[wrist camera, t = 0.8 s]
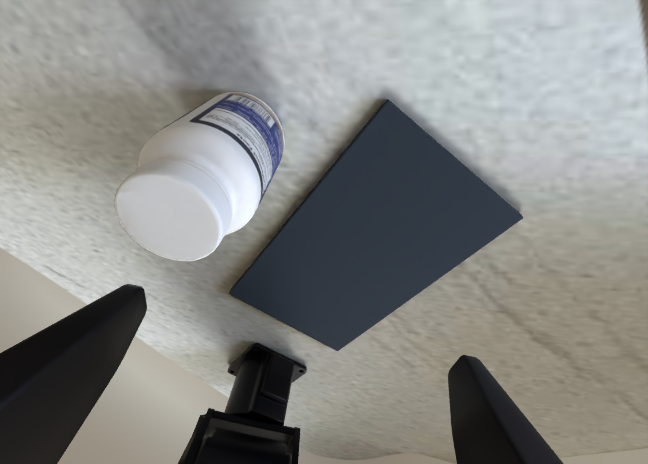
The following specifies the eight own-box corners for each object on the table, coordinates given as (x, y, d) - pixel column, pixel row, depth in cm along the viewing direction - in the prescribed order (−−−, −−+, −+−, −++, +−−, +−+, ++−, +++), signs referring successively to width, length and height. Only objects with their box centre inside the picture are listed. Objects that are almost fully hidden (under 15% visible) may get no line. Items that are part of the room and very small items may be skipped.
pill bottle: (222, 182, 22) (143, 282, 14) (185, 101, 19) (58, 168, 11) (297, 168, 21) (259, 267, 13) (270, 79, 18) (199, 136, 10)
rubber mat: (337, 347, 31) (337, 351, 31) (230, 289, 28) (228, 294, 27) (520, 214, 21) (523, 217, 21) (387, 98, 18) (387, 100, 17)
